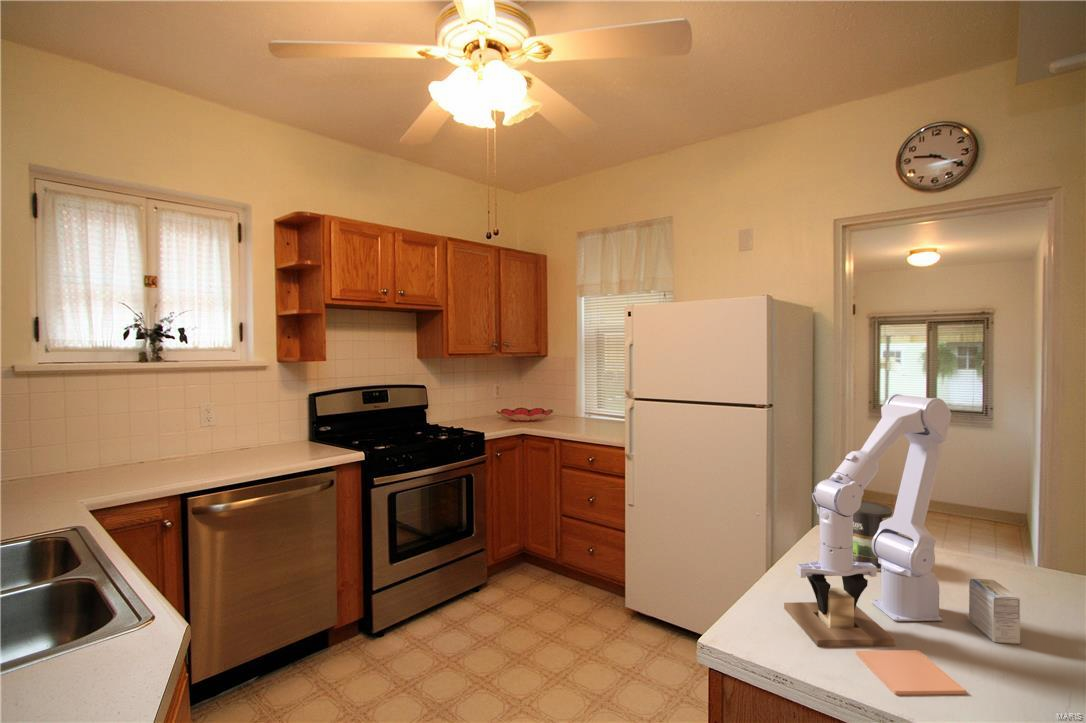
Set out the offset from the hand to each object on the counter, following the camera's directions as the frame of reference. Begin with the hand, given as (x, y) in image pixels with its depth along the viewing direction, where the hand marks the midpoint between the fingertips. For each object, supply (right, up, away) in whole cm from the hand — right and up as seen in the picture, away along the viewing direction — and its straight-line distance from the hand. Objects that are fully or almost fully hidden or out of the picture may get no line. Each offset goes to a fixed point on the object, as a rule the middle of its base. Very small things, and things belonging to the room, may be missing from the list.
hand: (835, 611), depth 105 cm
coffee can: (+23, -1, +29) cm, 37 cm away
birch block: (0, -2, 0) cm, 2 cm away
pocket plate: (0, -3, 0) cm, 3 cm away
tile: (+4, -3, -15) cm, 16 cm away
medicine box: (+28, -3, -3) cm, 28 cm away
